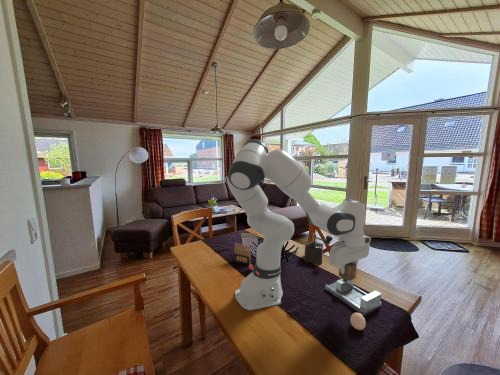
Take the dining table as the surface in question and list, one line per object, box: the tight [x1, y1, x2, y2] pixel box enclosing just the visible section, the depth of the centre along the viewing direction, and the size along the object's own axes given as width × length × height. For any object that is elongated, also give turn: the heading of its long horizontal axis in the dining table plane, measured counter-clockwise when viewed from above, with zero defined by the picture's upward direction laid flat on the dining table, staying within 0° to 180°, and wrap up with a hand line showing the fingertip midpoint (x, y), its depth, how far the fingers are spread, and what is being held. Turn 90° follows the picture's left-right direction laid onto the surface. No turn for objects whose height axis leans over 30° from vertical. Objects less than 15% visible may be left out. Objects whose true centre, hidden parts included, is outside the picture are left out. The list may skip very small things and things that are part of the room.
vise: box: [324, 281, 382, 317], centre depth 96 cm, size 12×20×6 cm, turn 28°
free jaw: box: [335, 278, 355, 294], centre depth 99 cm, size 9×2×6 cm, turn 118°
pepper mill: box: [303, 233, 334, 265], centre depth 130 cm, size 16×11×18 cm
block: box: [338, 262, 358, 281], centre depth 87 cm, size 4×4×6 cm
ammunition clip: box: [233, 242, 252, 266], centre depth 127 cm, size 11×2×12 cm, turn 65°
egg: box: [350, 312, 367, 331], centre depth 79 cm, size 5×5×6 cm
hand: (347, 270), depth 87 cm, fingers closed on block, 4 cm apart
